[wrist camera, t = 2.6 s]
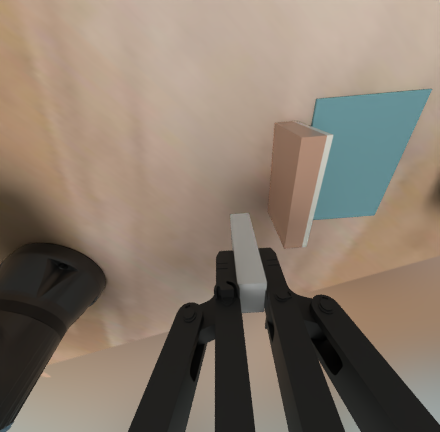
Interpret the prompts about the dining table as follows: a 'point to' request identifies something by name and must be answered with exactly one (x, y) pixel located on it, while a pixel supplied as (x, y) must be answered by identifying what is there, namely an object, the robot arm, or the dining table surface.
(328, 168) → the felt mat
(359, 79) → the dining table surface
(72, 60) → the dining table surface
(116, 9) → the dining table surface
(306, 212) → the tile
